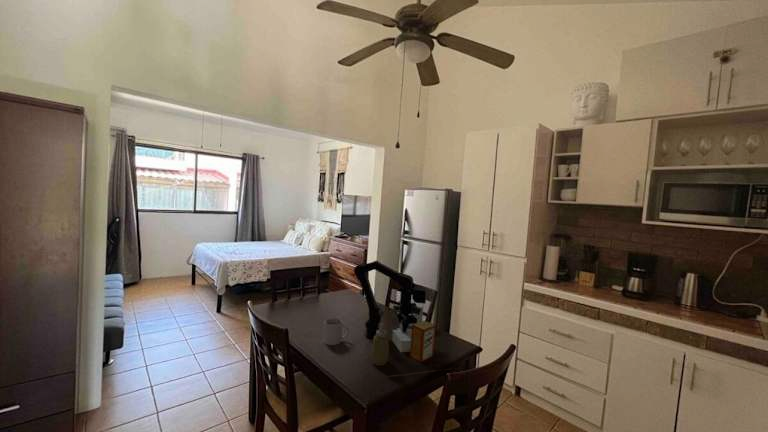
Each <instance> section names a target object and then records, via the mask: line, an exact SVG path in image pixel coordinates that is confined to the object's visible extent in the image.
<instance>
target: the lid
mask: <svg viewBox="0 0 768 432" xmlns="http://www.w3.org/2000/svg"><path fill="white" fill-rule="evenodd" d="M393 333H394V334H395V335H396V337H397V338H398V339H399V340H400V342H401V343H406V342H411V335H412V328H407V330H406V332H403V328H402V324H401V322H400V324H399V327H397V328H396V329H392V334H393Z"/></svg>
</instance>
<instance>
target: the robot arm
mask: <svg viewBox="0 0 768 432" xmlns="http://www.w3.org/2000/svg"><path fill="white" fill-rule="evenodd" d="M374 270H375V271H376V272H378V273H380V274H382V275H384V276H386V277H388V278H390V279H392V280H393V281H395V282H396V283H397V284H398V285H399V288H397V289H396V292H399V293H400V296H399V300H398V304H396V305H393V307H392V311H393V313H395V316H396V318H397V321H398V324H399V325H400V322H401V324H402V328H403V332H406V330H407V329H408V327H409V324H415V323H417V318H416V317H415V316H414V315H410V314H413V313H415V314H417V315H419V314H420V312H421V309H420V308H419V307H417V306H416V304H415V303H422V304H424V305H425V304H426V302H427V289H420V288H419V289H418V287H417V286H416V284H415V282H414V278H413V277H412V276H411V275H410V274H406V273H402V272H398V271H396V270H394V269H393V268H391V267H389V266H387V265H385V264H383V263H381V262H380V261H378V260H374V261H372V262H368V263H360V264H357V265H356V266H355V267H354V268H353V273H354V275H355V277H356V279H357V280H358V281H359V282H360V285H361V289H362V291H363V295H364V297H365V300H366V303H367V306H368V319H367V320H366V322H365V323H364V325H365V333H364V336H365V338H366V339H367V340H370V339H372V340H373V339H374V336H375V335H376V331H377V330H379V328H380V325H379V324H381V323H382V320H383V318H384V314H385V313H384V312H383V308H382V306H379V305H378V303H377V300H376V299H375V298H376V297H375V294H374V292H373V288H372V285H371V283H370V279H369V278H370V277H369V276H370V274H369V272H371V271H374ZM412 300H413V302H412ZM396 312H397V313H396Z"/></svg>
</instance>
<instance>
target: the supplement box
mask: <svg viewBox="0 0 768 432" xmlns="http://www.w3.org/2000/svg"><path fill="white" fill-rule="evenodd" d="M414 303H415V304H416V306H417V307H419V308H420V309H421V312H420V314H419V315H417V314H415V313H413V314H409V315H414V316H415V317H416V318H417V323H419V322H422V321H423V318H424V317H423V315H424V305H425V304H423V303H417V302H414ZM415 324H416V323H415ZM412 325H414V324H409V325H408V327H410V328H412Z"/></svg>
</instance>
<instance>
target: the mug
mask: <svg viewBox="0 0 768 432" xmlns="http://www.w3.org/2000/svg"><path fill="white" fill-rule="evenodd" d="M323 325H324V326H323V344H325V345H327V346H336V345H339V344H341V343H342V339H346V337H347V336H348V335H349V327H348V325H347V324H346V323H344V322H343V320H342V319H339V318H327V319H326V320H324V323H323ZM343 326H344V327H345V328H346V332H345V333H344V335H343ZM342 335H343V336H342Z"/></svg>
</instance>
